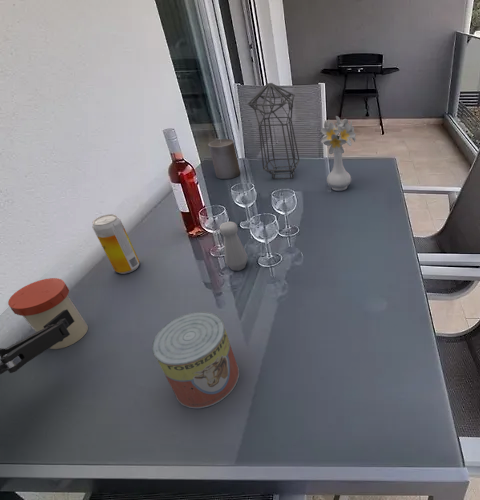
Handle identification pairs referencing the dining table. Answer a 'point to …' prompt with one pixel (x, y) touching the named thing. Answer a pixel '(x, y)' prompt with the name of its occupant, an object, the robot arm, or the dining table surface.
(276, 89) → the geometric lantern
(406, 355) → the dining table surface
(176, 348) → the canned food
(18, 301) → the lid
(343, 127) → the flower vase
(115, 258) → the beer can
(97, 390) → the dining table surface
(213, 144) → the pillar candle
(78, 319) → the jam jar
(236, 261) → the salt shaker
